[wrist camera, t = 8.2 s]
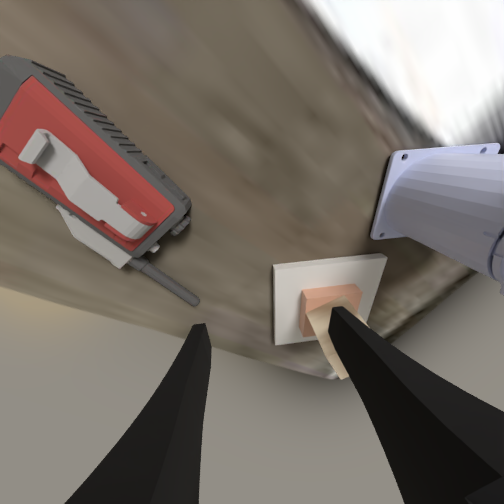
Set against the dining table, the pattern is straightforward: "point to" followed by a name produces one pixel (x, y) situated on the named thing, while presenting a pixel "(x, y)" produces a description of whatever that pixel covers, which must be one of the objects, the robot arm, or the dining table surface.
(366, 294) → the base plate
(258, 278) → the dining table surface
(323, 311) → the birch block
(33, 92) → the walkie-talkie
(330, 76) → the dining table surface
